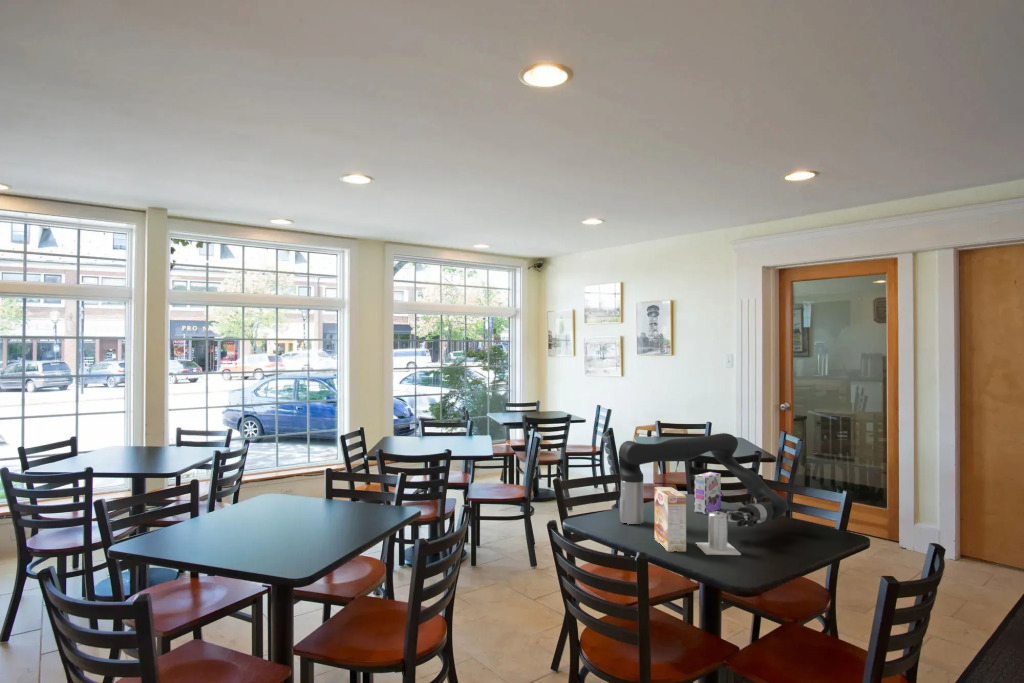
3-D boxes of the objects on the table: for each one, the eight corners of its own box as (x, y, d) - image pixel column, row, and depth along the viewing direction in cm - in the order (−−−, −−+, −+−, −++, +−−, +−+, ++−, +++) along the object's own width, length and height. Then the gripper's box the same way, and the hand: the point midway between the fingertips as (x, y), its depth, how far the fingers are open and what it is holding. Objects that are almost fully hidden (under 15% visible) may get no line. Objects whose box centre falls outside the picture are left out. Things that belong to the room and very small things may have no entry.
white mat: (706, 554, 203) (706, 553, 203) (695, 543, 215) (695, 542, 215) (740, 555, 203) (740, 553, 203) (728, 544, 215) (728, 542, 215)
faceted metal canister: (711, 550, 206) (711, 513, 206) (706, 545, 212) (706, 509, 212) (729, 550, 206) (729, 513, 206) (723, 545, 212) (723, 509, 212)
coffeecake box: (653, 539, 220) (653, 486, 221) (672, 538, 221) (672, 486, 221) (667, 552, 205) (667, 495, 206) (686, 551, 206) (686, 495, 206)
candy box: (705, 514, 257) (705, 476, 257) (693, 512, 261) (693, 474, 262) (721, 509, 266) (721, 473, 267) (709, 507, 270) (709, 471, 271)
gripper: (734, 500, 228) (710, 506, 219) (769, 508, 217) (745, 514, 207) (735, 520, 228) (710, 527, 218) (769, 528, 217) (745, 536, 207)
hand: (727, 521), depth 213 cm, fingers open, 8 cm apart
